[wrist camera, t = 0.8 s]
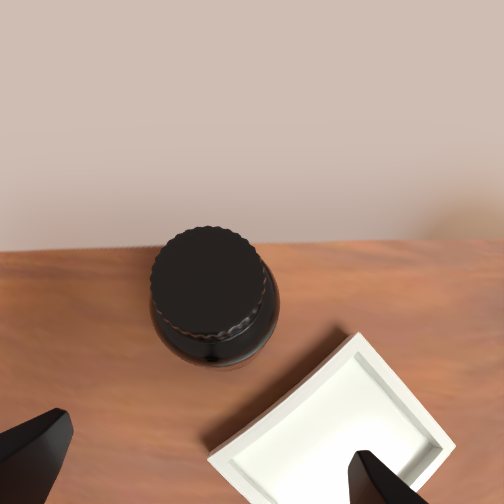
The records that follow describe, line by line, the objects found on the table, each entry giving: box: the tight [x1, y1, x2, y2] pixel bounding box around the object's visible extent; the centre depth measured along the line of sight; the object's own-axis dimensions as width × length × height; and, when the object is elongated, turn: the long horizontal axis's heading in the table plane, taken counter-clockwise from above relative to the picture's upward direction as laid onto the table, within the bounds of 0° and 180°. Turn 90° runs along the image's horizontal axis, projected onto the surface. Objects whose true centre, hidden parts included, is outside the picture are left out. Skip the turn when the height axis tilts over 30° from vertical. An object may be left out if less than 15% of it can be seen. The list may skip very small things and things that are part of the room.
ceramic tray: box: [207, 332, 456, 504], centre depth 19 cm, size 14×14×2 cm
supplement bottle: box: [149, 226, 280, 371], centre depth 18 cm, size 7×7×12 cm
